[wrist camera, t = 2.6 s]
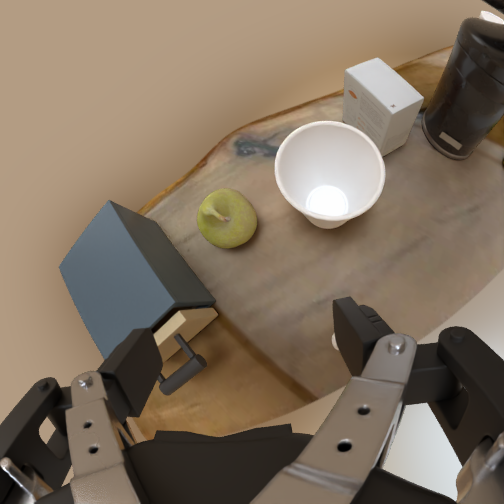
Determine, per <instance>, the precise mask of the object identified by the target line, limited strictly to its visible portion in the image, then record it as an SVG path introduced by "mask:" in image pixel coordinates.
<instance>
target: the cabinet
mask: <svg viewBox="0 0 504 504" xmlns="http://www.w3.org/2000/svg"><path fill="white" fill-rule="evenodd" d="M59 269H60V271H61V274H62V276H63V279H64V281H65V283H66V286H67V288H68V290H69V293H70V295H71V297H72V299H73V301H74V304H75V306H76V308H77V310H78V312H79V314H80V316H81V318H82V320H83V322H84V324H85V326H86V328H87V329H88V331H89V333H90V335H91V337H92V339H93V340H94V342H95V344H96V346H97V347H98V349H99V351H100V353H101V354H102V356H103V358H104V359H105V360H106V358H108V356H109V355H110V353H112V351H113V350H114V348H115V347H116V346H117V345H118V344H120V343H121V342H122V341H124V340H125V338H126V337H127V336H128V335H129V333H130V332H131V331H132V330H133V329H137V328H150V329H152V328H153V327H154V326H155V325H156V324H157V323H158V322H159V321H160V320H161V319H162V318H163V317H164V316H165V315H166V314H167V313H168V312H169V311H170V310H171V309H172V308H173V307H184V306H197V307H196V308H195V309H202V308H209V307H210V306H211V305H212V304H213V303H214V302H215V301H216V300H215V299H214V298H213V297H212V295H211V294H210V293H209V292H208V290H207V289H206V288H205V287H204V285H203V284H202V283H201V281H200V280H199V279H198V278H197V276H196V275H195V274H194V273H193V271H192V270H191V269H190V267H189V266H188V265H187V263H186V262H185V261H184V259H183V258H182V257H181V256H180V254H179V253H178V252H177V250H176V249H175V248H174V246H173V245H172V244H171V242H170V241H169V239H168V238H167V237H166V235H165V234H164V233H163V231H162V230H161V229H160V227H159V226H158V224H157V223H156V222H155V221H152V220H150V219H148V218H146V217H144V216H142V215H140V214H138V213H135V212H133V211H131V210H129V209H127V208H125V207H123V206H121V205H118V204H116V203H114V202H112V201H110V200H108V201H107V203H106V204H105V205H104V206H103V207H102V209H101V210H100V211H99V213H98V214H97V215H96V216H95V217H94V219H93V220H92V221H91V223H90V224H89V225H88V226H87V228H86V229H85V230H84V232H83V233H82V234H81V236H80V237H79V238H78V240H77V241H76V243H75V244H74V245H73V247H72V248H71V250H70V251H69V253H68V254H67V255H66V257H65V258H64V260H63V261H62V263H61V264H60V266H59Z"/></svg>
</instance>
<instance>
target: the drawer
mask: <svg viewBox="0 0 504 504" xmlns="http://www.w3.org/2000/svg"><path fill="white" fill-rule="evenodd" d="M196 307H197V306H184V307H173V308H172V309H171V310H170V311H169V312H168V313H167V314H166V315H165V316H164V317H163V318H162V319H161V320H160V321H159V322H158V323H157V324H156V325H155V326H154V327H153V328H152V329H151V330H152V333H153V335H154V338H155V341H156V343H157V346H158V349H159V351H160V354H161V357H162V361H163V362H165V361H166V360H167V359H169V358H170V357H171V356H172V355H173V354H174V353H176V352H177V351H178V350H179V349H180V348H182V349H183V350H184V352H185V353H186V354H187V355H188V357H189V358H190V360H189V361H188V362H186V363H185V364H184V365H183V366H182V367H180V368H179V369H178V370H177V371H175V372H174V373H173V374H172V375H170V376H169V377H168V378H167V379H165V378H164V376H163V375H162V374H161V372H160V374H159V376H158V379H157V380H158V381H159V383H161V384H160V385H159V388H160V390H161V392H162V393H163V394H165V395H171V394H172V393H173V392H175V391H176V390H177V389H179V388H180V387H181V386H183V385H184V384H185V383H186V382H188V381H189V380H190V379H192V378H193V377H194V376H196V375H197V374H198V373H199V372H201V371H202V370H203V369H204V368H206V367H207V362H206V360H205V359H204V358H203V357H202V356H201V355H199V354H197V355H196V354H195V352H194V351H193V350H192V349H191V347H190V346H189V345H188V344H187V342H188V341H189V340H191V339H192V338H193V337H194V336H195V335H196V334H197V333H199V332H200V331H201V330H202V329H203V328H204V327H205V326H207V325H208V324H209V323H210V322H211V321H212V320H213V319H214V318H216V317H217V316H218V313H217V312H216V311H215V310H214V309H213V308H202V309H195V308H196Z"/></svg>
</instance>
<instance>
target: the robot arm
mask: <svg viewBox="0 0 504 504" xmlns="http://www.w3.org/2000/svg"><path fill="white" fill-rule="evenodd" d="M482 1H484V2H485V3H487V4H488V5H490V6H491V7H493V8H495V9H496V10H498V11H499V12H501V13H502V14H504V0H482ZM503 115H504V24H499V23H494V22H490V21H487V20H484V19H480V18H467V19H465V20H464V21H463V22H462V24H461V27H460V30H459V32H458V35H457V38H456V41H455V44H454V46H453V49H452V52H451V55H450V57H449V60H448V62H447V65H446V67H445V70H444V72H443V74H442V77H441V79H440V81H439V84H438V86H437V88H436V91H435V93H434V95H433V97H432V99H431V101H430V104H429V106H428V108H427V109H426V111H425V113H424V115H423V117H422V127H423V131H424V133H425V135H426V137H427V139H428V140H429V142H430V143H431V144H432V145H433V146H434V147H435V148H436V149H437V150H438V151H439V152H441V153H442V154H444V155H445V156H447V157H449V158H452V159H457V160H462V159H465V158H467V157H469V156H470V155H471V153H472V152H473V151H474V149H475V148H476V147H477V146H478V145H479V144H480V143H481V141H482V140H483V139H484V138H485V137H486V136H487V134H488V133H489V132H490V131H491V130H492V129H493V127H494V126H495V125H496V124H497V122H498V121H499V120H500V119H501V118H502V116H503ZM333 318H334V334H335V340H336V344H337V347H338V349H339V351H340V353H341V355H342V357H343V359H344V361H345V363H346V365H347V367H348V369H349V371H350V373H351V375H352V378H351V379H350V381H349V382H348V384H347V386H346V387H345V389H344V391H343V392H342V394H341V396H340V397H339V399H338V401H337V402H336V404H335V405H334V407H333V409H332V410H331V412H330V413H329V415H328V416H327V418H326V419H325V421H324V422H323V424H322V425H321V426H320V428H319V430H318V431H317V432H316V434H315V435H310V434H302V433H292V427H291V424H284V425H278V426H270V427H261V428H254V429H251V430H247V431H244V432H240V433H236V434H232V435H228V436H224V437H213V436H207V435H202V434H196V433H192V432H187V431H158V430H157V431H156V434H155V437H154V439H153V440H148V441H143V442H140V443H137V441H136V439H135V437H134V435H133V433H132V430H131V428H130V426H129V424H128V422H127V421H126V418H127V417H140V414H141V412H142V410H143V408H144V406H145V404H146V402H147V400H148V397H149V395H150V393H151V391H152V389H153V387H154V385H155V383H156V381H157V379H158V376H159V374H160V372H161V370H162V367H163V361H162V357H161V354H160V351H159V349H158V346H157V343H156V341H155V338H154V335H153V333H152V330H151V329H150V328H137V329H133V330H132V331H131V332H130V333H129V335H128V336H127V337H126V338H125V340H124V341H122V342H121V343H120V344H118V345H117V346H116V347H115V348H114V350H113V351H112V353H110V355H109V356H108V358H106V360H105V361H104V362H103V363H102V365H101V366H100V367H99V368H98V370H97V371H88V372H85V373H82V374H80V375H78V376H77V377H76V378H74V380H73V381H72V383H71V386H69V387H62V388H60V386H59V384H58V382H57V381H56V379H55V378H52V377H48V378H44V379H41V380H40V381H38V382H37V383H35V384H34V385H33V387H32V388H31V389H30V390H29V391H28V392H27V393H26V394H25V396H24V397H23V398H22V399H21V400H20V402H19V403H18V404H17V405H16V406H15V407H14V409H13V410H12V411H11V412H10V413H9V415H8V416H7V417H6V418H5V420H4V421H3V422H2V423H1V425H0V504H504V360H503V359H502V358H501V357H500V356H498V355H497V354H496V353H495V352H494V351H493V350H492V349H491V348H490V347H489V346H488V345H487V344H486V343H484V342H483V341H482V340H481V339H480V338H479V337H478V336H477V335H475V334H474V333H473V332H472V331H471V330H469V329H467V328H464V327H457V326H455V327H449V328H446V329H444V330H443V331H442V332H441V333H440V334H439V339H438V342H437V343H430V344H420V345H419V344H417V342H416V340H415V339H414V338H413V337H411V336H409V335H406V334H399V333H396V334H395V332H394V331H393V330H392V329H391V328H390V327H389V326H388V325H387V324H386V322H385V321H384V320H382V318H381V317H380V316H378V314H377V313H376V311H375V310H374V309H372V308H370V307H368V306H365V305H361V306H358V305H357V304H356V303H355V301H354V300H353V299H352V298H351V297H346V298H341V299H336V300H333ZM419 403H428V405H429V407H430V408H431V410H432V412H433V413H434V415H435V417H436V419H437V420H438V422H439V424H440V425H441V427H442V429H443V431H444V433H445V434H446V436H447V438H448V440H449V442H450V444H451V446H452V447H453V449H454V451H455V453H456V455H457V457H458V459H459V461H460V462H461V465H462V469H461V470H460V472H459V473H458V476H457V479H456V487H457V491H458V496H457V501H456V502H455V501H454V500H453V499H451V498H449V497H447V496H445V495H443V494H440V493H437V492H434V491H432V490H429V489H427V488H424V487H422V486H419V485H417V484H414V483H412V482H409V481H407V480H405V479H403V478H400V477H398V476H396V475H394V474H392V473H390V472H387V471H385V470H383V469H382V468H383V466H384V464H385V461H386V459H387V456H388V454H389V451H390V448H391V445H392V443H393V440H394V438H395V435H396V433H397V430H398V427H399V424H400V422H401V419H402V416H403V413H404V410H405V407H406V405H412V404H419ZM46 417H48V418H49V420H50V421H51V422H52V424H53V425H54V427H55V428H56V430H55V431H54V433H53V435H52V436H51V438H50V439H49V441H48V443H47V444H45V443H44V442H43V441H42V439H41V437H40V435H39V427H40V425H41V424H42V423H43V421H44V420H45V418H46ZM71 465H72V467H73V472H74V477H73V478H72V479H71V481H70V483H68V484H66V485H64V486H62V484H63V482H64V480H65V478H66V476H67V473H68V471H69V469H70V467H71ZM61 486H62V487H61Z"/></svg>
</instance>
